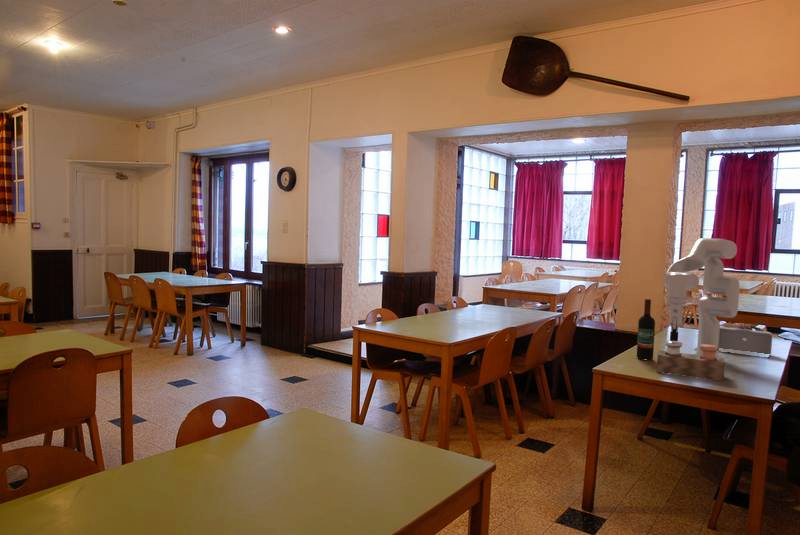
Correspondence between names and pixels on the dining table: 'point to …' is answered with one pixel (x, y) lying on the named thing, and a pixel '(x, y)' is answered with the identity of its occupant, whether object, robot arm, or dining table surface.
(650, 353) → the wine bottle
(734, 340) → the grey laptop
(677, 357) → the press block
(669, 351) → the steel plunger
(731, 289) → the robot arm
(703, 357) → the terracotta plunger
